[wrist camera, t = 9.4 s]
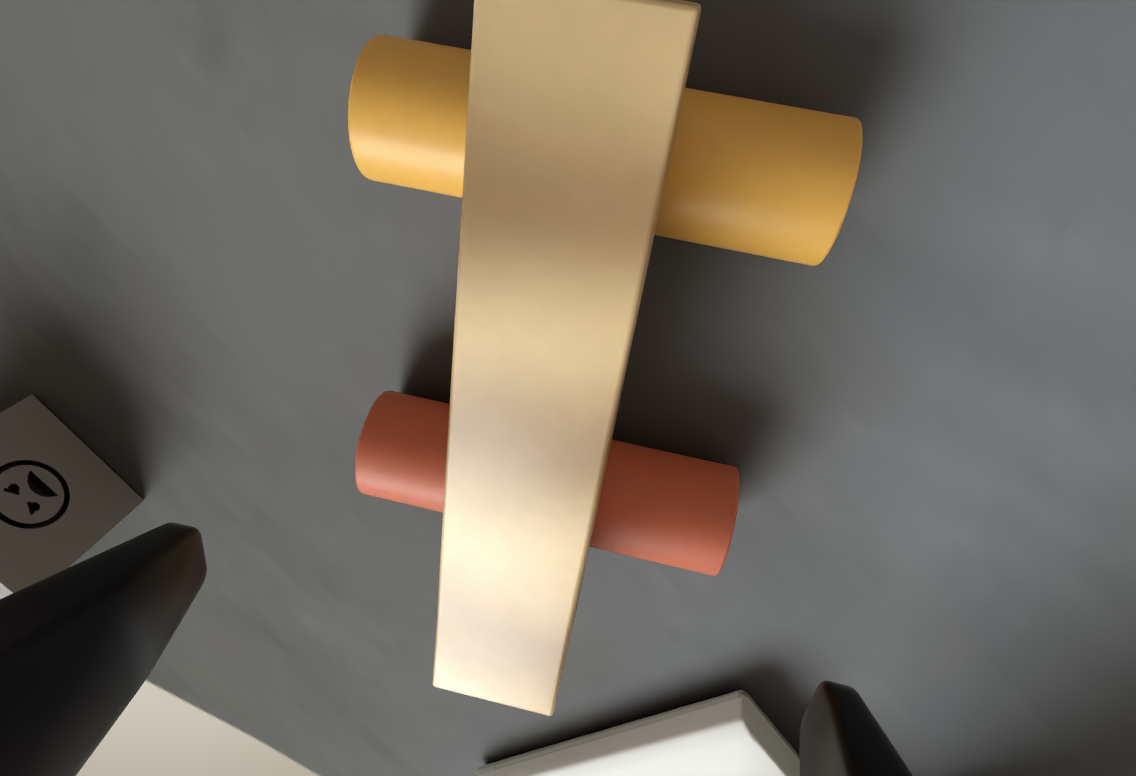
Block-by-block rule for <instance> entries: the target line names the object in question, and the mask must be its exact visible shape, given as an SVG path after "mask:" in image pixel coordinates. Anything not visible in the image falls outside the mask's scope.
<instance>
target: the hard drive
mask: <svg viewBox="0 0 1136 776" xmlns="http://www.w3.org/2000/svg"><path fill="white" fill-rule="evenodd" d="M475 776H800V756H799V755H798V754H797V753H796V751H795V750H794V749H793V748H792V746H791V745H790V744H789V743H788V742H787V740H786V739H785V738H784V737H783V736H782V735H781V733H780V732H779V731H778V730H777V728H776V727H775V726H774V725H773V724H772V722H771V721H770V720H769V719H768V718H767V716H766V715H765V714H764V713H763V712H762V710H761V709H760V708H759V707H758V706H757V704H756V703H755V702H754V701H753V699H752V698H751V697H750V696H749V695H748V694H747V693H746V692H744V691H743V690H738V691H735V692H732V693H729V694H726V695H722V696H719V697H715V698H712V699H708V700H705V701H701V702H698V703H694V704H691V705H687V706H683V707H679V708H677V709H674V710H670V711H667V712H663V713H660V714H657V715H654V716H650V717H647V718H643V719H639V720H636V721H632V722H629V723H625V724H622V725H619V726H616V727H612V728H609V729H606V730H603V731H599V732H595V733H592V734H588V735H584V736H581V737H577V738H574V739H571V740H568V741H564V742H560V743H557V744H554V745H551V746H547V747H544V748H540V749H537V750H533V751H530V752H527V753H524V754H520V755H517V756H513V757H510V758H507V759H503V760H500V761H498V762H494V763H491V764H488V765H485V766H481V767H478V768H477V771H476V775H475Z"/></svg>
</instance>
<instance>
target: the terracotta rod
mask: <svg viewBox="0 0 1136 776" xmlns="http://www.w3.org/2000/svg"><path fill="white" fill-rule="evenodd" d="M449 408H450V404H448V403H444V402H439V401H435V400H430V399H426V398H421V397H416V396H412V395H407V394H403V393H398V392H394V391H386V392H384V393H383V394H381V395H380V396H379V397H378V398H377V400H376V401H375V403H374V404H373V406H372V408H371V409H370V411H369V413H368V416H367V418H366V420H365V423H364V425H363V428H362V431H361V435H360V438H359V443H358V447H357V453H356V461H355V479H356V484H357V487H358V489H359V490H360V492H362V493H363V494H367V495H371V496H375V497H380V498H384V499H388V500H393V501H397V502H401V503H405V504H410V505H414V506H418V507H423V508H427V509H431V510H435V511H440V512H443V507H444V490H445V474H446V457H447V441H448V424H449ZM738 498H739V474H738V470H737V468H736V467H734V466H730V465H725V464H721V463H716V462H712V461H707V460H703V459H698V458H694V457H689V456H684V455H680V454H675V453H671V452H666V451H662V450H657V449H653V448H648V447H644V446H639V445H634V444H630V443H625V442H621V441H616V440H612V441H611V446H610V451H609V455H608V460H607V465H606V470H605V475H604V479H603V484H602V489H601V494H600V499H599V503H598V508H597V513H596V518H595V523H594V527H593V532H592V537H591V542H590V547H594V548H598V549H602V550H606V551H611V552H615V553H619V554H624V555H628V556H632V557H636V558H641V559H645V560H649V561H653V562H658V563H662V564H666V565H671V566H675V567H679V568H683V569H688V570H692V571H696V572H701V573H705V574H709V575H713V576H714V575H717V574H718V573H719V571H720V570H721V568H722V566H723V564H724V562H725V559H726V556H727V553H728V550H729V546H730V543H731V539H732V535H733V530H734V525H735V520H736V514H737V507H738Z"/></svg>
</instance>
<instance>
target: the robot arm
mask: <svg viewBox="0 0 1136 776" xmlns="http://www.w3.org/2000/svg"><path fill="white" fill-rule="evenodd" d="M206 570H207V567H206V560H205V555H204V549H203V543H202V537H201V534H200V532H199V531H198V529H197V528H194V527H191V526H187V525H183V524H179V523H167V524H164V525H162V526H159V527H157V528H155V529H153V530H151V531H148V532H146V533H144V534H142V535H140V536H137V537H135V538H133V539H131V540H129V541H126V542H124V543H122V544H120V545H118V546H116V547H113V548H111V549H109V550H107V551H105V552H102V553H100V554H98V555H96V556H94V557H91V558H89V559H87V560H85V561H83V562H80V563H78V564H76V565H74V566H72V567H69V568H67V569H65V570H63V571H61V572H58V573H56V574H54V575H52V576H50V577H48V578H45V579H43V580H41V581H39V582H37V583H34V584H32V585H30V586H28V587H26V588H23V589H21V590H19V591H17V592H15V593H12V594H10V595H8V596H6V597H4V598H1V599H0V776H76V775H77V773H78V772H79V771H80V769H81V768H82V767H83V765H84V764H85V762H86V761H87V760H88V758H89V757H90V756H91V754H92V753H93V752H94V750H95V749H96V747H97V746H98V745H99V743H100V742H101V741H102V739H103V738H104V736H105V735H106V734H107V732H108V731H109V730H110V728H111V727H112V726H113V724H114V723H115V721H116V720H117V719H118V717H119V716H120V715H121V713H122V712H123V711H124V709H125V708H126V706H127V705H128V704H129V702H130V701H131V699H132V698H133V697H134V695H135V694H136V693H137V691H138V690H139V688H140V687H141V686H142V684H143V683H144V681H145V680H146V678H147V677H148V675H149V674H150V672H151V670H152V669H153V667H154V666H155V664H156V662H157V661H158V659H159V657H160V656H161V654H162V652H163V651H164V649H165V647H166V645H167V644H168V642H169V640H170V639H171V637H172V635H173V634H174V632H175V630H176V629H177V627H178V625H179V623H180V622H181V620H182V618H183V617H184V615H185V613H186V612H187V610H188V608H189V607H190V605H191V603H192V601H193V600H194V598H195V596H196V595H197V593H198V591H199V590H200V588H201V586H202V584H203V582H204V580H205V576H206ZM800 776H913V775H912V774H911V772H910V771H909V769H908V768H907V766H906V765H905V763H904V762H903V760H902V759H901V757H900V756H899V754H898V753H897V751H896V750H895V748H894V747H893V745H892V744H891V742H890V741H889V739H888V738H887V736H886V735H885V733H884V732H883V730H882V729H881V727H880V726H879V724H878V723H877V721H876V720H875V718H874V717H873V715H872V713H871V712H870V710H869V709H868V707H867V706H866V704H865V703H864V701H863V700H862V698H861V697H860V695H859V694H858V693H857V692H856V691H855V690H854V689H853V688H852V687H850V686H846V685H842V684H838V683H834V682H830V681H823V682H822V683H820V684H819V686H818V687H817V689H816V691H815V693H814V695H813V697H812V699H811V701H810V703H809V705H808V707H807V709H806V711H805V713H804V715H803V718H802V721H801V726H800Z"/></svg>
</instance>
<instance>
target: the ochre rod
mask: <svg viewBox="0 0 1136 776" xmlns="http://www.w3.org/2000/svg"><path fill="white" fill-rule="evenodd" d="M470 61H471V50H468V49H463V48H457V47H451V46H446V45H440V44H434V43H428V42H423V41H417V40H411V39H406V38H400V37H394V36H389V35H378V36H375V37H373V38H371V39H370V40H369V41H368V42H367V43H366V45H365V46H364V48H363V49H362V51H361V53H360V55H359V58H358V60H357V63H356V66H355V69H354V73H353V77H352V81H351V87H350V94H349V105H348V129H349V139H350V145H351V150H352V154H353V157H354V160H355V163H356V165H357V167H358V169H359V170H360V172H361V173H362V174H363V175H364V176H365V177H367V178H368V179H370V180H374V181H379V182H384V183H389V184H395V185H400V186H405V187H410V188H415V189H420V190H425V191H431V192H436V193H441V194H446V195H451V196H456V197H461V198H462V193H463V177H464V160H465V144H466V127H467V111H468V94H469V78H470ZM862 141H863V133H862V125H861V122H860V121H859V120H858V119H857V118H855V117H849V116H844V115H838V114H832V113H827V112H821V111H815V110H810V109H804V108H798V107H792V106H787V105H781V104H775V103H770V102H764V101H758V100H753V99H747V98H741V97H736V96H730V95H724V94H719V93H713V92H707V91H701V90H696V89H690V88H685V90H684V95H683V100H682V105H681V109H680V114H679V119H678V124H677V129H676V133H675V138H674V143H673V148H672V153H671V157H670V162H669V167H668V172H667V177H666V181H665V186H664V191H663V196H662V201H661V205H660V210H659V215H658V220H657V225H656V230H655V234H654V235H657V236H662V237H667V238H672V239H678V240H683V241H688V242H693V243H698V244H703V245H708V246H714V247H719V248H724V249H729V250H734V251H739V252H745V253H750V254H755V255H760V256H765V257H770V258H775V259H781V260H786V261H791V262H796V263H801V264H806V265H811V266H814V265H818V264H820V263H821V262H822V261H823V260H824V258H825V257H826V256H827V254H828V253H829V251H830V249H831V248H832V246H833V244H834V242H835V240H836V238H837V236H838V234H839V231H840V229H841V226H842V224H843V221H844V219H845V216H846V213H847V210H848V207H849V204H850V201H851V198H852V194H853V191H854V187H855V183H856V179H857V175H858V170H859V165H860V159H861V153H862Z"/></svg>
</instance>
